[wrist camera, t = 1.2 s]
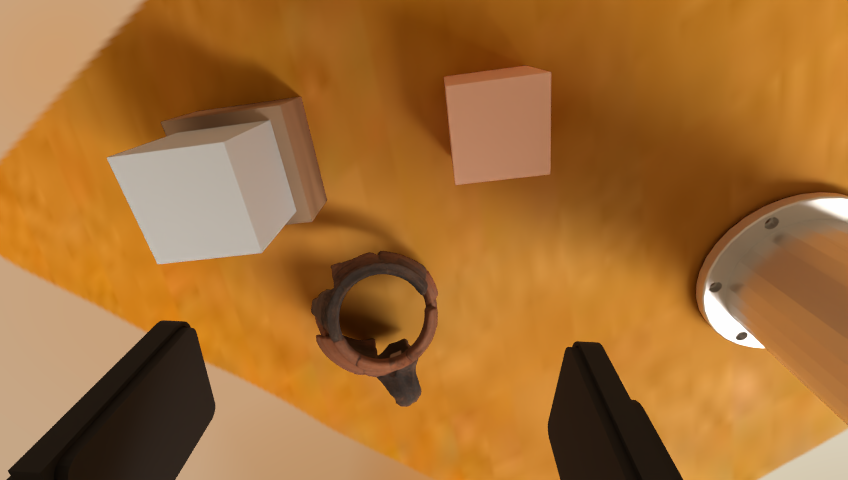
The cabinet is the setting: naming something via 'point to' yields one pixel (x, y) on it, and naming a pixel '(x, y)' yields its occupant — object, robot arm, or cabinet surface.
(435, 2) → the cabinet surface
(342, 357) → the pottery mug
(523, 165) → the terracotta block
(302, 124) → the tan cardboard-coloured box
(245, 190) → the greyblue cube
